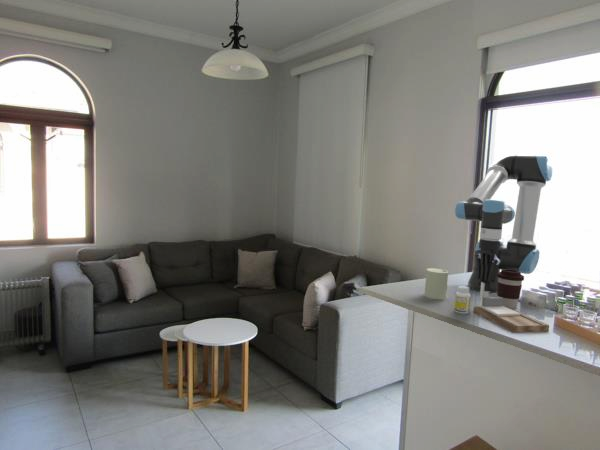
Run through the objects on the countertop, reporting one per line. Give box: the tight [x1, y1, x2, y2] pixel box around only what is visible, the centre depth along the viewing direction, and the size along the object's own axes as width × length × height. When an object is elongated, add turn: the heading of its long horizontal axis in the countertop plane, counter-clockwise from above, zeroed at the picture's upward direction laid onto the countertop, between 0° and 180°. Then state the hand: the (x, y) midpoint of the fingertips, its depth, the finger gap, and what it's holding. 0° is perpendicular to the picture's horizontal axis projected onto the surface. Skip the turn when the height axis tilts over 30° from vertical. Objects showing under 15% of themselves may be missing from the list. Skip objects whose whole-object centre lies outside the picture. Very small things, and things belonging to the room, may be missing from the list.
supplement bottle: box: [454, 285, 472, 315], centre depth 161 cm, size 5×5×10 cm
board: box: [472, 305, 550, 333], centre depth 154 cm, size 14×22×2 cm, turn 13°
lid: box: [479, 296, 521, 316], centre depth 157 cm, size 9×10×4 cm
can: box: [423, 267, 449, 301], centre depth 182 cm, size 9×9×12 cm
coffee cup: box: [496, 269, 525, 310], centre depth 172 cm, size 10×10×15 cm
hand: (483, 298), depth 166 cm, fingers closed
